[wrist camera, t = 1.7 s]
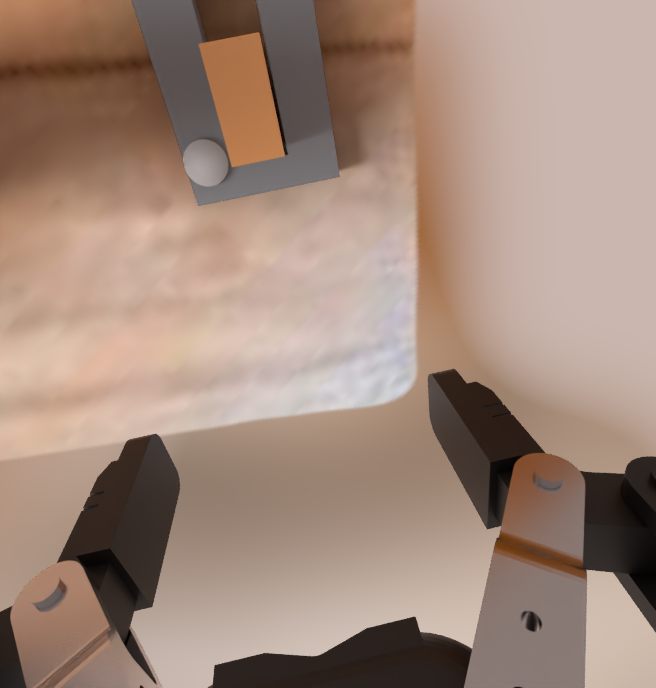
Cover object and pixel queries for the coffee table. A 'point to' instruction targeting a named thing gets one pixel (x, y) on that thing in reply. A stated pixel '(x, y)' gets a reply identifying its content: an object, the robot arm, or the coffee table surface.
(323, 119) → the console
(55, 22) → the coffee table surface
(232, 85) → the fader tab
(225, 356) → the coffee table surface
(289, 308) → the coffee table surface
